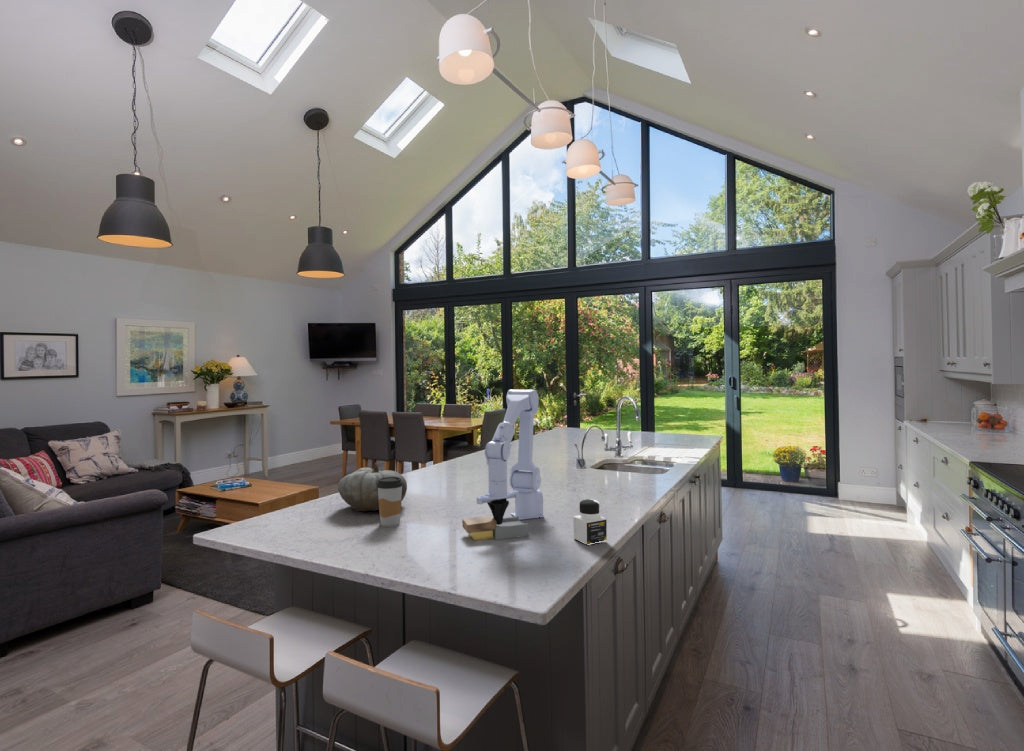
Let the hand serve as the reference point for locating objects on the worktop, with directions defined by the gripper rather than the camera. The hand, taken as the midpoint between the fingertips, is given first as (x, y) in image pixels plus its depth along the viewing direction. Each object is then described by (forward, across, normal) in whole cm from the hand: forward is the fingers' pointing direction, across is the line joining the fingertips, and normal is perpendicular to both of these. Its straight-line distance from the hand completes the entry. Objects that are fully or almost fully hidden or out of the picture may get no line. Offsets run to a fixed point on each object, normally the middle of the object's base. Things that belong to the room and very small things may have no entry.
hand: (498, 523), depth 170 cm
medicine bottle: (+3, -18, +22) cm, 29 cm away
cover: (+1, +6, -2) cm, 6 cm away
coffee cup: (+3, +22, -31) cm, 38 cm away
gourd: (+4, +18, -55) cm, 58 cm away
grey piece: (+3, -3, +1) cm, 4 cm away
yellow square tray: (+3, +6, -2) cm, 7 cm away
